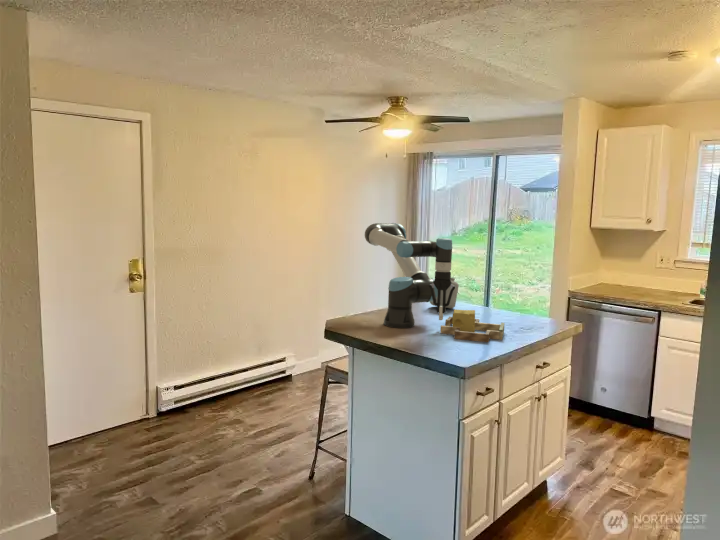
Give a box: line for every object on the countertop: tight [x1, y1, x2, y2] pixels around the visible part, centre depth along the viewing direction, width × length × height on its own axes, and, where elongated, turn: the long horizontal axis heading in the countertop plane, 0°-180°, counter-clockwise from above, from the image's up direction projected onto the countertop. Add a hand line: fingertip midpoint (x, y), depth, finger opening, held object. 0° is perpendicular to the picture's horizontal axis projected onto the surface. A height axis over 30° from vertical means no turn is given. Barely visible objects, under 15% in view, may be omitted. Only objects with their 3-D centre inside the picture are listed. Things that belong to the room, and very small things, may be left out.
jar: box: [429, 277, 459, 309], centre depth 310 cm, size 19×15×25 cm
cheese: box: [451, 308, 476, 333], centre depth 254 cm, size 10×11×10 cm
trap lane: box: [440, 316, 505, 343], centre depth 253 cm, size 28×31×4 cm
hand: (440, 319), depth 257 cm, fingers closed
